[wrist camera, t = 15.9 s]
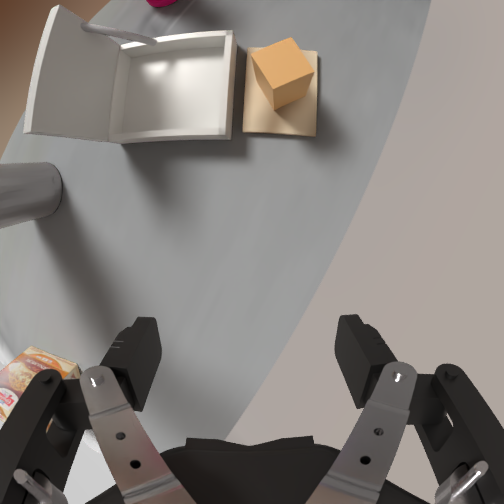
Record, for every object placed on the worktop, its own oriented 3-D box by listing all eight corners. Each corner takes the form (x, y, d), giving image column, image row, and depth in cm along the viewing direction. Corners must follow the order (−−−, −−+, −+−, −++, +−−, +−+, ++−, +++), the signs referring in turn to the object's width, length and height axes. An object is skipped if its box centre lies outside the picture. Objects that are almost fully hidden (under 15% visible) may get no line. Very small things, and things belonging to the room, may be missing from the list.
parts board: (243, 132, 34) (242, 131, 33) (248, 50, 31) (247, 47, 30) (314, 136, 34) (315, 135, 33) (316, 54, 31) (317, 51, 30)
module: (273, 110, 32) (272, 89, 24) (256, 81, 32) (250, 54, 23) (305, 96, 32) (314, 71, 23) (288, 67, 31) (291, 37, 22)
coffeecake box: (77, 363, 47) (23, 421, 28) (85, 388, 49) (38, 447, 30) (30, 344, 48) (-23, 388, 29) (38, 368, 49) (-9, 414, 31)
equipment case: (116, 144, 36) (23, 133, 18) (127, 57, 32) (51, 8, 14) (231, 139, 35) (189, 105, 17) (237, 44, 31) (209, -39, 13)
